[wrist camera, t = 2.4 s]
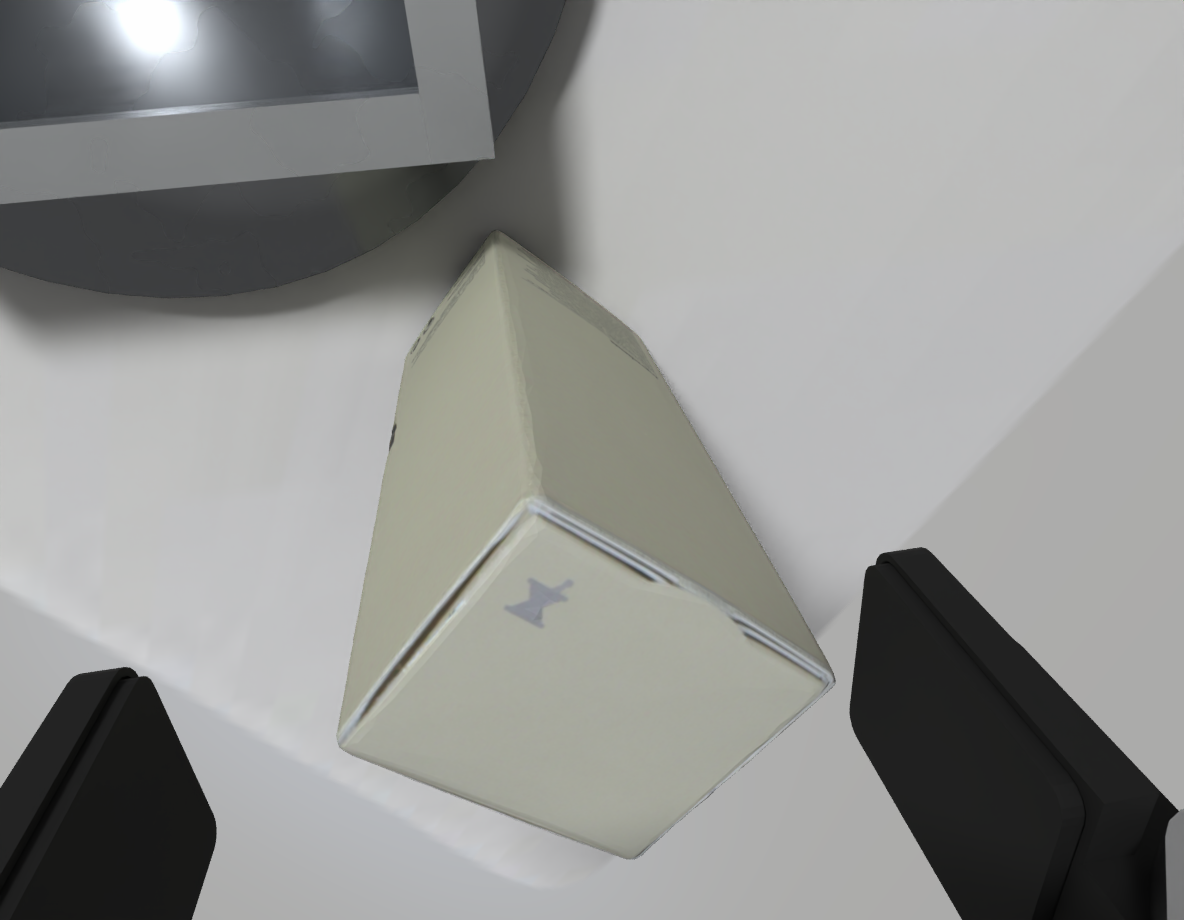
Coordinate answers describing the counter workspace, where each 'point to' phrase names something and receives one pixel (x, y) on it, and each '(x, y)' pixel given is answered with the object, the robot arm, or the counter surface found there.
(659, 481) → the box
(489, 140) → the disc with square frame
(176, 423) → the counter surface
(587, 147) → the counter surface
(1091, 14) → the counter surface
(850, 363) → the counter surface
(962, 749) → the robot arm
